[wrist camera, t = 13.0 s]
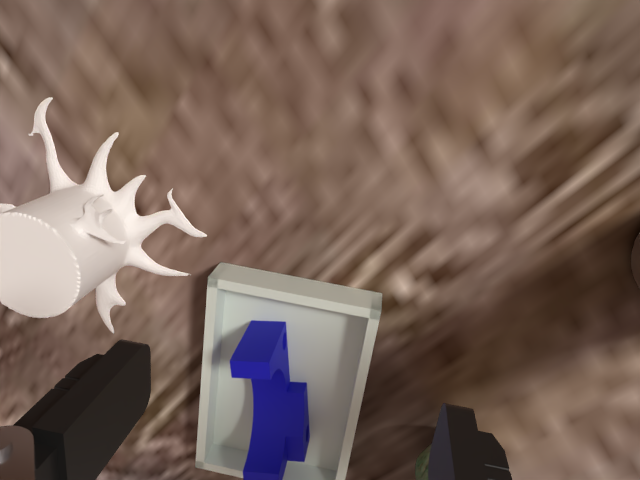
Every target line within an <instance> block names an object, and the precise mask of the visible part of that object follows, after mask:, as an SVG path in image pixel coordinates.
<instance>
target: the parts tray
mask: <svg viewBox="0 0 640 480" xmlns="http://www.w3.org/2000/svg"><path fill="white" fill-rule="evenodd" d="M381 307H382V293H378V292H372V291H367V290H362V289H357V288H352V287H346V286H341V285H336V284H331V283H326V282H321V281H315V280H310V279H305V278H300V277H295V276H289V275H284V274H279V273H274V272H269V271H264V270H258V269H253V268H248V267H243V266H238V265H232V264H227V263H222V262H220V263H219V265H218V266H217V267H216V268H215V269H214V271H213V272H212V273H211V274H210V275H209V277H208V284H207V299H206V314H205V329H204V344H203V359H202V374H201V389H200V404H199V419H198V434H197V449H196V464H195V467H196V468H200V469H205V470H209V471H213V472H218V473H222V474H226V475H231V476H235V477H240V478H243V469H244V466H245V462H246V459H247V455H248V450H249V445H250V439H251V432H252V423H253V389H252V382H251V379H246V378H232V377H231V369H230V359H231V357H232V355H233V353H234V351H235V350H236V348H237V346H238V344H239V342H240V340H241V339H242V337H243V335H244V333H245V331H246V329H247V327H248V326H249V324H250V322H251V320H255V321H282V322H286V330H287V344H288V358H289V373H290V382H306V383H307V393H308V411H309V429H310V439H309V444H308V448H307V453H306V457H305V462H297V461H287V464H286V468H285V472H284V476H283V479H282V480H345V478H346V473H347V468H348V464H349V459H350V454H351V450H352V445H353V440H354V436H355V431H356V426H357V422H358V417H359V412H360V408H361V403H362V399H363V394H364V389H365V385H366V380H367V375H368V371H369V366H370V361H371V357H372V352H373V347H374V343H375V338H376V333H377V329H378V324H379V319H380V315H381Z"/></svg>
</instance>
